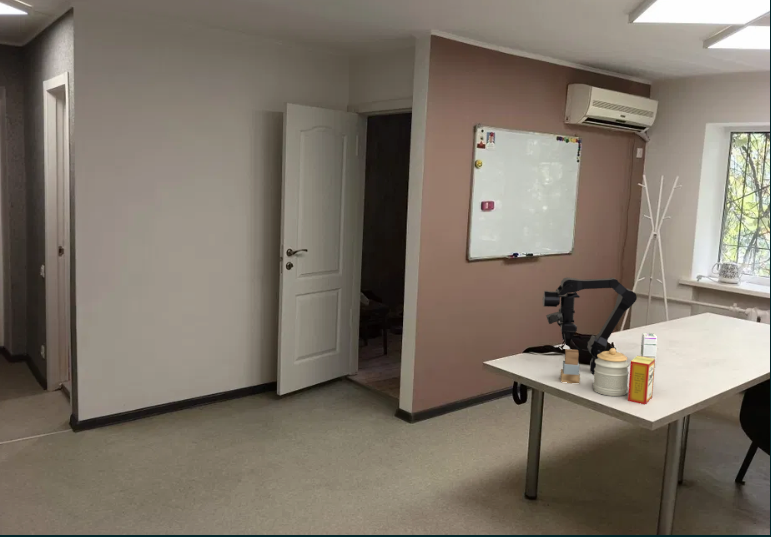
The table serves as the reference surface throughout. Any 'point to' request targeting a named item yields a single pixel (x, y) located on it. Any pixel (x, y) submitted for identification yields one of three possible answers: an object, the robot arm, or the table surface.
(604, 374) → the jar
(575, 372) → the grey block
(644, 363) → the baking soda box
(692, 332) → the table surface
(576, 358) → the walnut cube
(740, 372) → the table surface
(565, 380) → the oak block
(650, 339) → the syrup box
